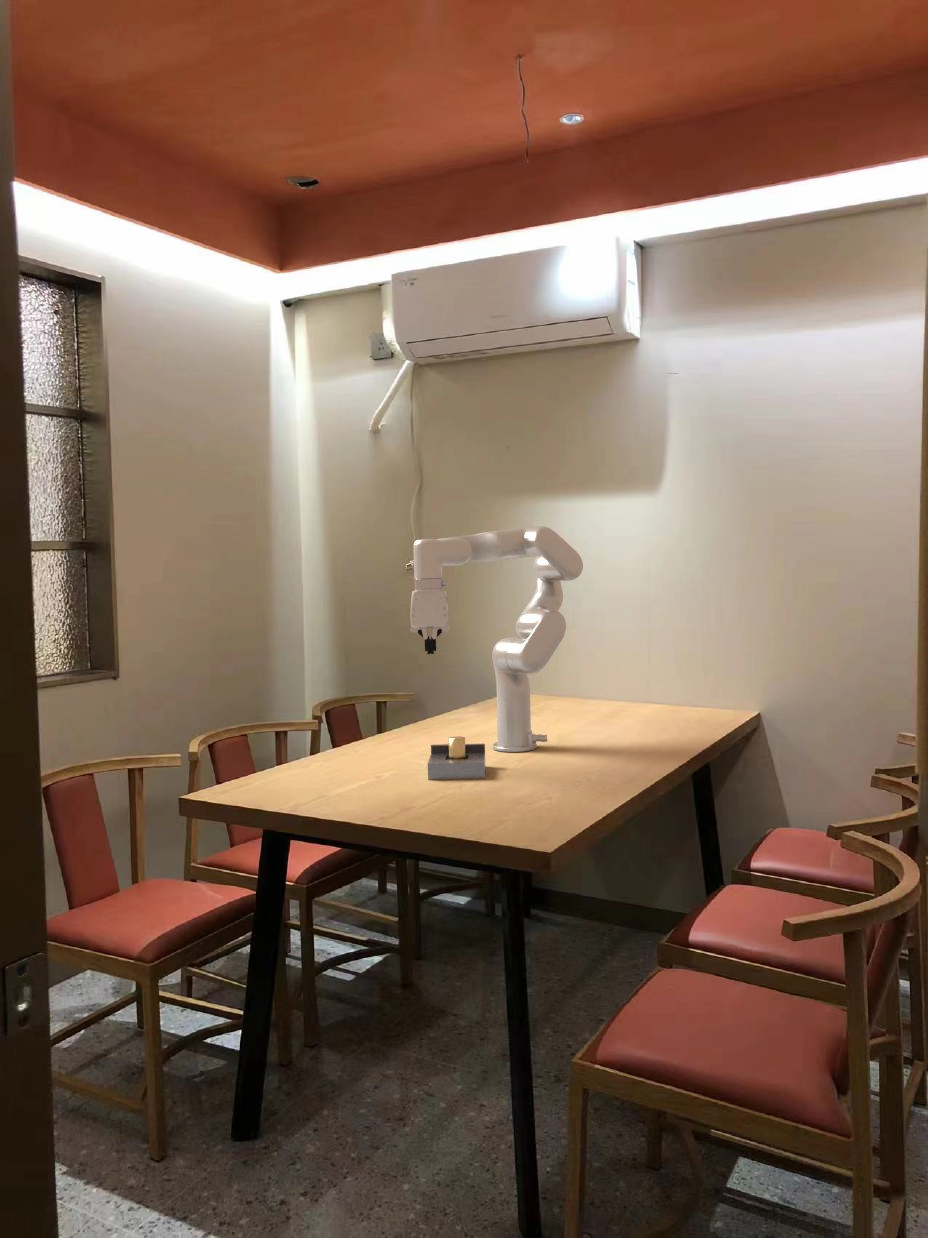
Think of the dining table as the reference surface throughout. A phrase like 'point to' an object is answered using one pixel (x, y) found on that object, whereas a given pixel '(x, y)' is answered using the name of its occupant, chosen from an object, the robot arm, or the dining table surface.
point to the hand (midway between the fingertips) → (430, 653)
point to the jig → (457, 763)
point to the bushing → (457, 748)
